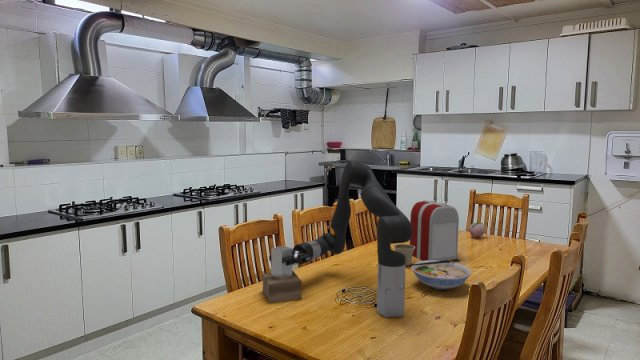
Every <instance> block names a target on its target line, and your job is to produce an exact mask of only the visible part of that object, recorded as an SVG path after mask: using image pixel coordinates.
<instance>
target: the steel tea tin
mask: <svg viewBox="0 0 640 360" xmlns="http://www.w3.org/2000/svg"><path fill="white" fill-rule="evenodd" d="M270 249H271V254H270V255H271V261H270V263H271V273H272V278H275V279H278V280H285V279H288V278H290V277H292V271H293V264H292V265H289V266H287V265H286V259H290V258H292V249H293V248H292V247H289V246H285V245H279V246H276V247H273V248H270Z"/></svg>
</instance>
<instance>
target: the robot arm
mask: <svg viewBox="0 0 640 360" xmlns="http://www.w3.org/2000/svg"><path fill="white" fill-rule="evenodd" d="M341 174H342V176H341V181H340V185H339V190H338V196H337V201H336V206H335V210H334V213H333V215H332V218H331V222H330V228H331V229H332V230H333V231H334V232H335V234H334V233H331V232H325V233H323V234H322V235H321V236H319V237H318V238H317V239H313V240H308V241H304V242H301V243H300V242H299V243H298V244H295V245H294V246H293V248H292V258H290V259H286V265H287V266H289V265H292V266H293V265H297V264H298V265H299V266H301V265H303V264H307V263H309V262H310V261H312V260H316V259H317V258H320V257H322V256H325V255H326V254H328V252H330V253H332V254H334V255H340V254H341V253H342V252H343V251H344V250H345V247H346V240H347V239H346V237H347V229H348V228H347V227H348V225H349V223H350V219H351V215H352V207H351V201H350V197H349V189H350V185H351V184H353V185H355V186H359V187H360V188H361V187H362V191H361V193H360V194H361V200H362V201H361V202H362V203H363V205H364V206H365V208H366V209H367V211H369V212H370V213H371V214H372V215H375V216H376V217H378V220H377V222H376V242H377V245H376V246H377V247H376V249H377V252H376V253H377V284H376V285H377V289H376V290H377V291H376V311H377V313H378V314H379V315H381V316H384V317H385V318H398V317H399V318H402V317H404V314H405V300H406V299H405V295H406V289H405V288H406V266H405V264H406V257H405V255H404V254H402V253H400V252H397V251H395V249H392V246H391V245H393V244H395V245H396V244H406V243H408V242H410V239H411V238H412V234H413V231H412V226H411V223H410V220H409V218H408V217H407V216H406V215H405V214H404V212H403V211H401V210H400V209H399V208H398V206H397V205H395V203H394V202H393V200H391V198H390V196H389V195H388V194H387V192H386V191H385V189H384V188H383V186H381V184H380V183H379V180H377V178H376V175H375V173H374V172H373V170H372V168H371V167H370V166H369V165H367V164H365V163H362V162H357V161H354V160H349V161H348V162H347V163H346V164H345V166H344V168H343V170H342V173H341ZM268 258H269V259H268V260H269V262H271V254H270V255H269V256H268Z"/></svg>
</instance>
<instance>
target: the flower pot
mask: <svg viewBox="0 0 640 360" xmlns="http://www.w3.org/2000/svg"><path fill="white" fill-rule="evenodd" d="M393 247H394V251H397V252H400V253H402V254H404V255H405V257H406V264H405V265H412V260H413V256H412V255H413V251H414V249H415V247H414V246H412V245H410V244H406V243H396V244H395V245H393ZM406 267H409V266H406Z"/></svg>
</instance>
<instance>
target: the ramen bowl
mask: <svg viewBox="0 0 640 360" xmlns="http://www.w3.org/2000/svg"><path fill="white" fill-rule="evenodd" d="M460 263H461V259H458V258H457V259H451V260H443V261H438V260H430V261H422V260H420V261H417V262H415V263H413V264H412V263H411V265H405V267H407V266H408V267H411V270H412V272H413V273H414V276H415V277H416V278H417V279H418V281H420V282H421V283H423V285H426V286H428V287H431V288H433V289H435V290H441V291H445V290H449V289H454V288H457V287H459V286H461V285H462V284H464V283H465V282H466V281H467V280H468V279H469V278H470V276H471V273H472V272H471V269H470V268H469V267H468V266H465V265H463V264H460Z"/></svg>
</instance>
